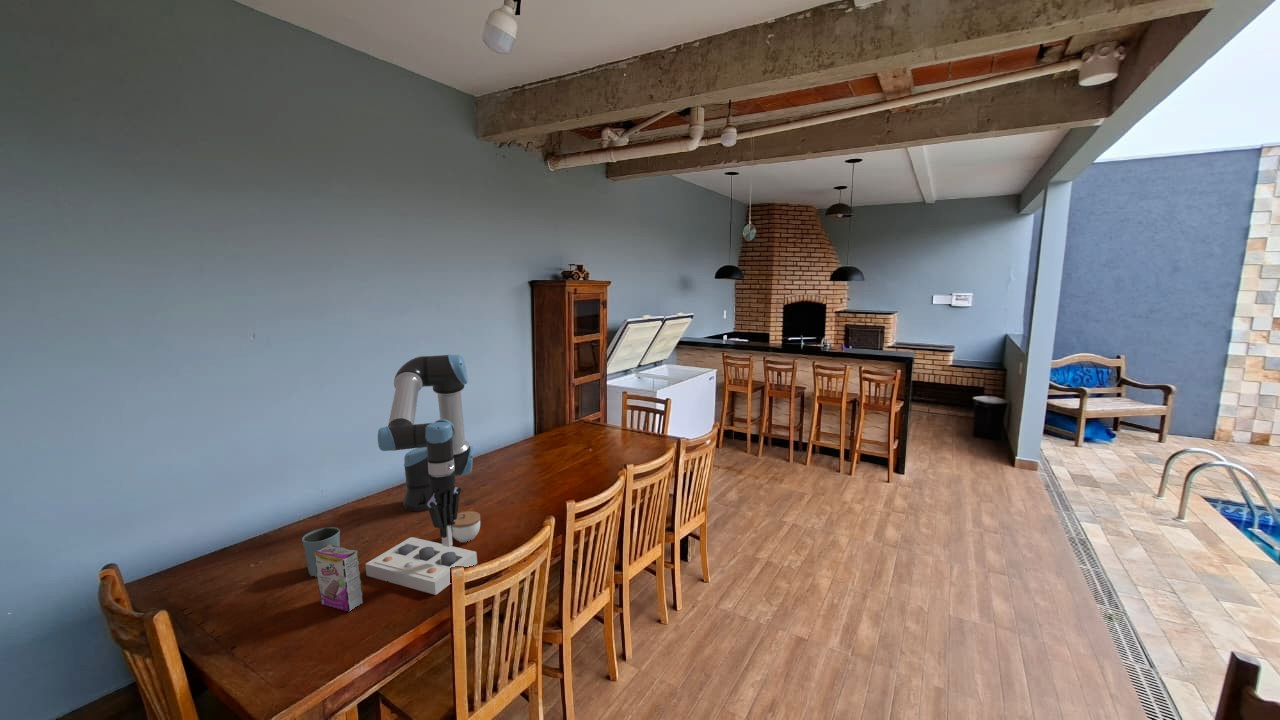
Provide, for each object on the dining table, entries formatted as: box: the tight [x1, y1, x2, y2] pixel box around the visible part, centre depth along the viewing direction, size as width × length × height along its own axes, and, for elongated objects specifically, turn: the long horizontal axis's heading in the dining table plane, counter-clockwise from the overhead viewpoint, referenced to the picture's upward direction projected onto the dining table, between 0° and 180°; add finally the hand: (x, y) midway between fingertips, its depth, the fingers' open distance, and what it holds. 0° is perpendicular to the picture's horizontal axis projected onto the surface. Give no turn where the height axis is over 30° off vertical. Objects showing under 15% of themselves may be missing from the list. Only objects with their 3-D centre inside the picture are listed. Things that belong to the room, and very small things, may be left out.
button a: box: [398, 545, 413, 556], centre depth 165 cm, size 4×4×3 cm
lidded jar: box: [452, 510, 481, 543], centre depth 179 cm, size 11×11×9 cm
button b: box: [419, 547, 434, 561], centre depth 161 cm, size 4×4×3 cm
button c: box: [441, 552, 456, 567], centre depth 158 cm, size 4×4×3 cm
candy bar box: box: [314, 545, 364, 613], centre depth 141 cm, size 11×5×16 cm, turn 71°
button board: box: [365, 536, 478, 596], centre depth 160 cm, size 18×28×4 cm, turn 68°
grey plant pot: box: [301, 526, 341, 578], centre depth 160 cm, size 10×10×12 cm
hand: (447, 545), depth 157 cm, fingers closed
